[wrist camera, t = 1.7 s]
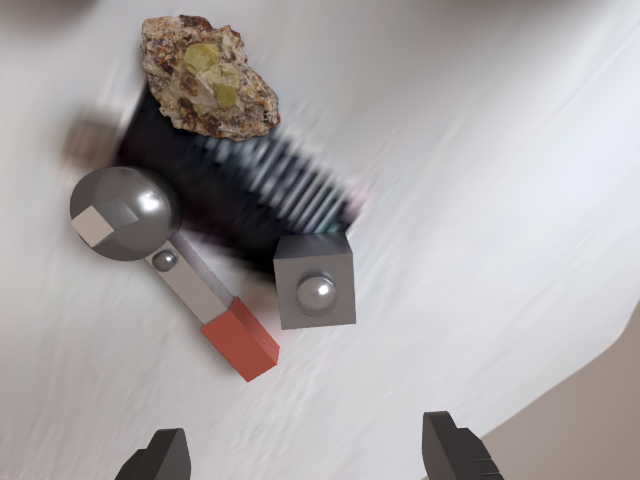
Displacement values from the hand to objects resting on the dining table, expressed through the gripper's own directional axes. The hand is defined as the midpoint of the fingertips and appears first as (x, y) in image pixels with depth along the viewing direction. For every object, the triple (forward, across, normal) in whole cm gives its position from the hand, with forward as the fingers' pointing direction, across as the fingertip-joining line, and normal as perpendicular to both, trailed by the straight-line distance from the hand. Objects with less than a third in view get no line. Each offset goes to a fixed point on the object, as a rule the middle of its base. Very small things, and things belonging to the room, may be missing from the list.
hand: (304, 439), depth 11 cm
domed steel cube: (+18, -1, 0) cm, 18 cm away
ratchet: (+18, +10, +1) cm, 21 cm away
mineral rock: (+19, +6, -14) cm, 24 cm away
